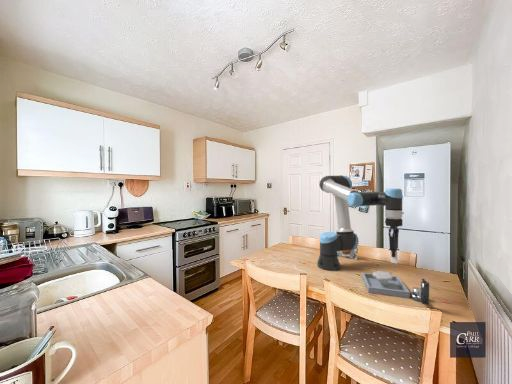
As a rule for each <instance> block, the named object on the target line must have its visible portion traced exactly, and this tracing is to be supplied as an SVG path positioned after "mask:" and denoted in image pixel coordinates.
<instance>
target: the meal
mask: <svg viewBox="0 0 512 384" xmlns="http://www.w3.org/2000/svg"><path fill="white" fill-rule="evenodd" d="M358 252H359V251H358V246H357V247H356V249H354V250H345V251H337V257H338V258H340V257H341V258H349V259H351V260H353V259H354V260H356V261H357V260H358Z"/></svg>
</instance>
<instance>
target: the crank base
mask: <svg viewBox="0 0 512 384" xmlns="http://www.w3.org/2000/svg"><path fill="white" fill-rule="evenodd" d="M409 299H411V300H413V301H415V302H419V303H421V300H420V299H419V298H418V297H417V296H416V295H414V294H413V291H410V298H409Z"/></svg>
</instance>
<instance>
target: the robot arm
mask: <svg viewBox="0 0 512 384" xmlns="http://www.w3.org/2000/svg"><path fill="white" fill-rule="evenodd" d="M352 187H353V186H352V180H351V178H350V177H349V176H347V175H325V176H323V177H322V178H321V179H320V180H319V188H320V190H321V191H323V192H324V193H327V194H332V196H334V201H335V202H334V203H335V213H336V220H337V230H336V232H334V231H326V232H323V233H321V234H320V236H319V257H318V259H317V261H316V262H317V264H316V265H317V267H318V268H319V269H322V270H325V271H329V272H330V271H333V272H335V271H338V270H340V269H341V264H340V260H339V256H338V257H337V255H338V251H345V250H354V249H356V247H357V248H358V246H359V236H358V235H357V234H356V233H355V232H354V230H353V229H352V226H351V217H350V208H349V207H355V208H356V207H370V206H382V207H383V206H384V207H385V210H384V213H385V214H384V215H385V220H384V221H385V226H387V227H388V226H389V227H390V228H388V233H387V234H388V237H389V238H388V240H389V241H388V242H389V249H388V251H390V263H392V264H398V251H400V249H399V233H400V229H399V228H398V227H402V226H403V219H402V218H403V215H404V213H405V212H403V198H404V196H403V190H402V189H401V188H386V189H385V190H384V191H381V192H380V191H371V192H369V191H368V192H365V191H364V192H361V191H358V190H355V189H353V188H352Z"/></svg>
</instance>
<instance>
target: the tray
mask: <svg viewBox="0 0 512 384" xmlns="http://www.w3.org/2000/svg"><path fill="white" fill-rule="evenodd" d="M361 275H362V277H361V279H362V280H363V283H364V285H365V288H366V290H367V292H368V294H373V295H374V294H376V295H382V296H391V297H399V298H407V299H411V298H410V293H411V291H409V289H408V287H406V285H405V284H404V283H403V281H402V280H401V279H400V277H398V275H397V276H396V275H395V276H394V275H392V276H393V278H392V280H389V281H388V283H387V284H385V286H381V283H379V282H378V279H377V278H375V277H374V276H373V273H368V272H367V273H366V272H362V273H361Z"/></svg>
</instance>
